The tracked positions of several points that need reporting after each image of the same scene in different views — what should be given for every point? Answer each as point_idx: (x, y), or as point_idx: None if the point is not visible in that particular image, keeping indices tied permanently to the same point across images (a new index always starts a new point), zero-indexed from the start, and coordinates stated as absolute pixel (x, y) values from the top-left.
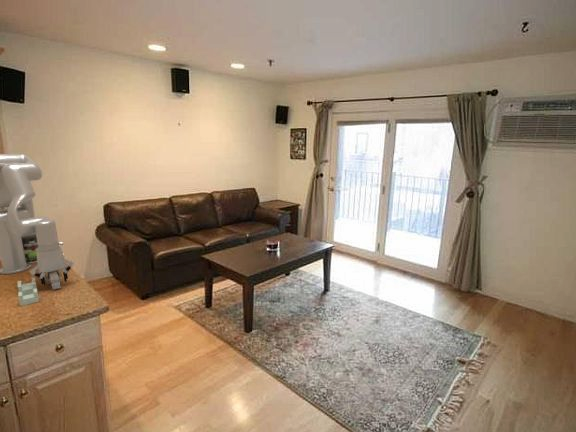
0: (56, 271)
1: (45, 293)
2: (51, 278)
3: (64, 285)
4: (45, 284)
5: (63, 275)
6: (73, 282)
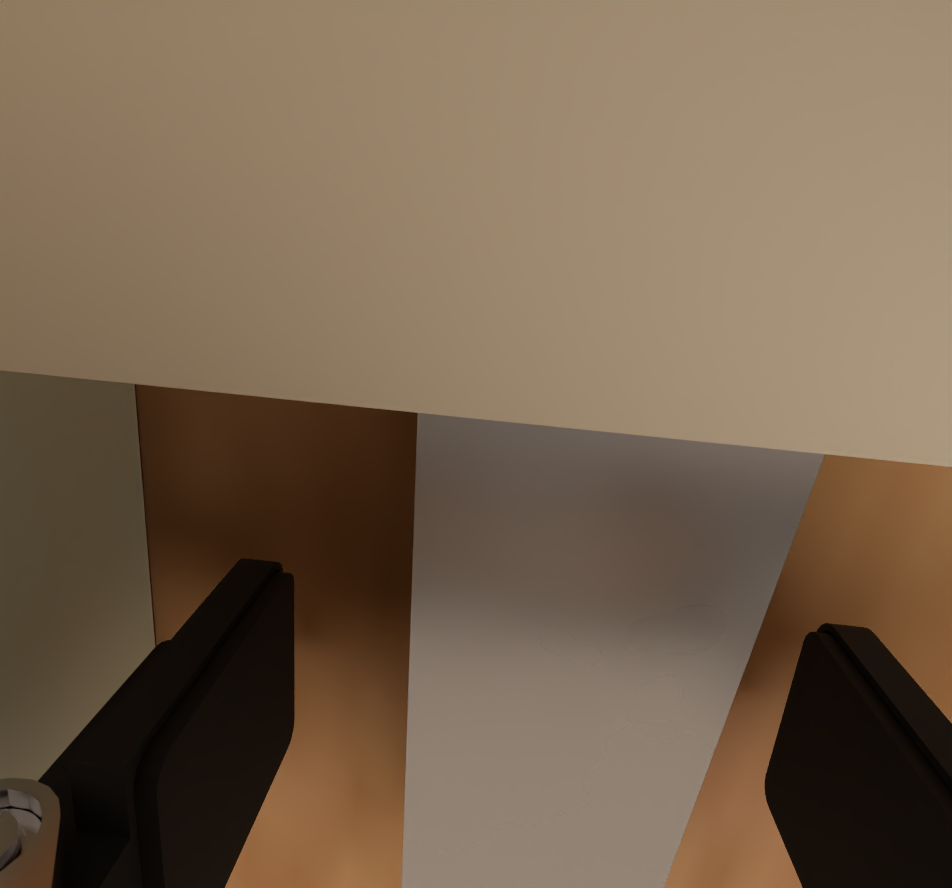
0: None
1: (295, 796)
2: (441, 833)
3: None
4: (274, 773)
5: (884, 779)
6: (943, 638)
